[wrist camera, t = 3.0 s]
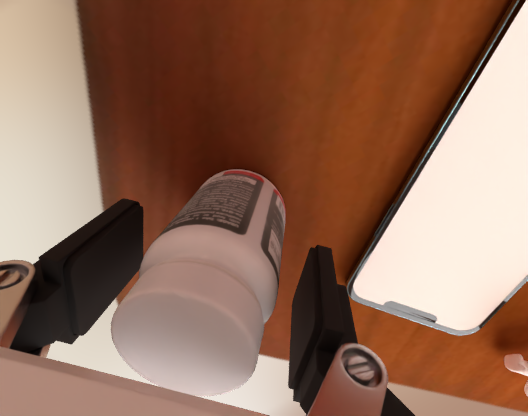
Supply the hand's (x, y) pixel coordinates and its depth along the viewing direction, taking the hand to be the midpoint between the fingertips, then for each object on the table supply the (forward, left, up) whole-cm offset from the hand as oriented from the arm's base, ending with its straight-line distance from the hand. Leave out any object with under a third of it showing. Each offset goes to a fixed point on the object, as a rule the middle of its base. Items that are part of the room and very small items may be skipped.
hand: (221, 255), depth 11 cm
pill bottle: (0, 0, -4) cm, 4 cm away
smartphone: (+5, +11, -4) cm, 13 cm away
